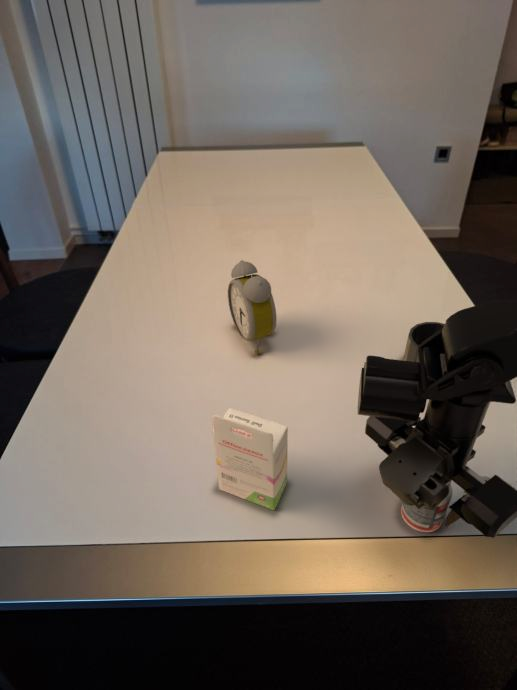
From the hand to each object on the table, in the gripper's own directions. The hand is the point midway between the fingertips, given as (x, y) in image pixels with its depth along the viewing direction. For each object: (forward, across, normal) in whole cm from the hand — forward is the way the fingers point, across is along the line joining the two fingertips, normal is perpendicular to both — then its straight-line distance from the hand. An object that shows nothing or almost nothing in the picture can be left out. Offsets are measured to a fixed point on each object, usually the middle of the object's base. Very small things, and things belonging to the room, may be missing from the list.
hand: (425, 503), depth 63 cm
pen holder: (+2, -18, +24) cm, 30 cm away
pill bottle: (+3, 0, 0) cm, 3 cm away
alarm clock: (+3, -44, +4) cm, 45 cm away
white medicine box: (+3, -17, -15) cm, 23 cm away
